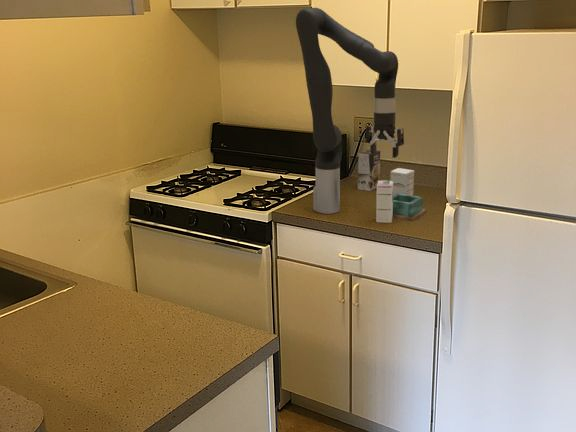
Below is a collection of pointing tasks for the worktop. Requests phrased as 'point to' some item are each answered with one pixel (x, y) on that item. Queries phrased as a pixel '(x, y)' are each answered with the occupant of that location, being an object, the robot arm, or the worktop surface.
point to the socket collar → (407, 207)
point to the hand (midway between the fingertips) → (384, 156)
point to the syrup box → (384, 202)
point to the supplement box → (402, 181)
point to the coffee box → (368, 170)
